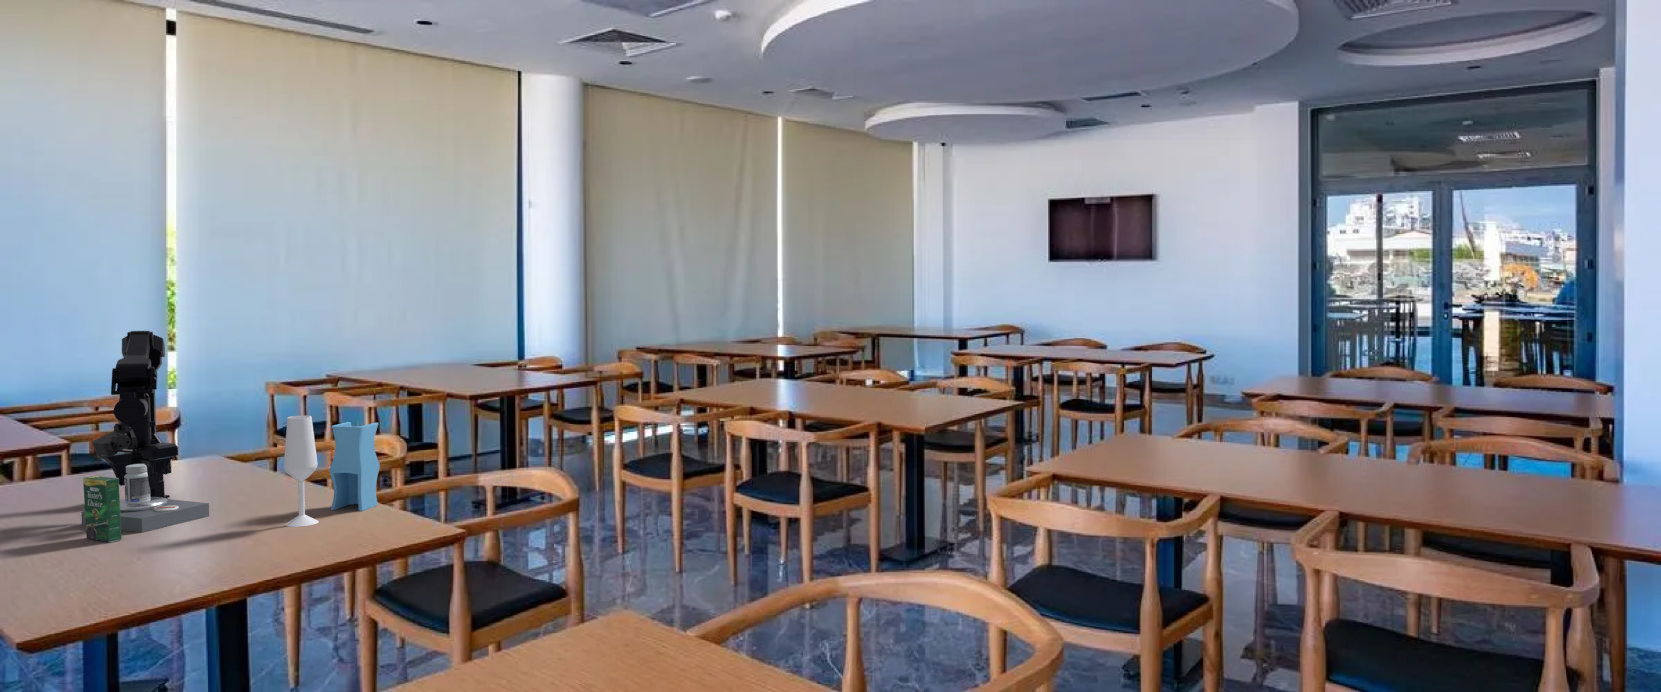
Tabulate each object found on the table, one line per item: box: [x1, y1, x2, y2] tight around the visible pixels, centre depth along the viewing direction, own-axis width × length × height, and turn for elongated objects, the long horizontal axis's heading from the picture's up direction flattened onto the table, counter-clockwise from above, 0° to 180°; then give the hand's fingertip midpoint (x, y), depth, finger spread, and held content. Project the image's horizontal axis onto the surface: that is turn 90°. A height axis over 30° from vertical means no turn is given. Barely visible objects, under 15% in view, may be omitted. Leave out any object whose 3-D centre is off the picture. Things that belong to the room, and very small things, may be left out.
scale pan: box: [120, 497, 168, 512], centre depth 225 cm, size 11×11×1 cm
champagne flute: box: [283, 415, 320, 528], centre depth 223 cm, size 7×7×24 cm
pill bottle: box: [124, 464, 151, 504], centre depth 225 cm, size 5×5×8 cm
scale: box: [81, 498, 210, 533], centre depth 225 cm, size 18×16×4 cm
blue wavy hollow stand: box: [329, 421, 381, 512], centre depth 240 cm, size 8×8×20 cm
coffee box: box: [82, 475, 122, 543], centre depth 208 cm, size 8×3×13 cm, turn 66°
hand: (137, 486), depth 225 cm, fingers open, 9 cm apart
